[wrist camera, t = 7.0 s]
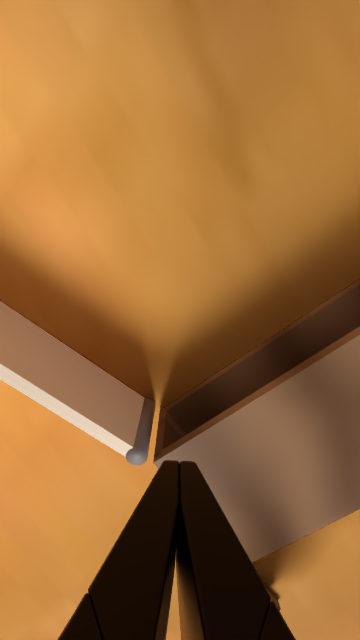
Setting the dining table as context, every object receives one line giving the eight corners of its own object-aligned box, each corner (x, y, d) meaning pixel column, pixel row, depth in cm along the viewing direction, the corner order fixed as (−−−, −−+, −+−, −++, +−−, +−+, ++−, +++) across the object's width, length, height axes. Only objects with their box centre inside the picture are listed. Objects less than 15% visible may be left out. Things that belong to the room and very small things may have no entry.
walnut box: (235, 495, 23) (249, 564, 18) (159, 410, 21) (153, 462, 16) (448, 376, 20) (534, 421, 15) (386, 261, 18) (464, 270, 13)
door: (158, 404, 21) (151, 455, 16) (142, 422, 21) (130, 477, 16) (-60, 257, 18) (-151, 264, 13) (-73, 282, 18) (-165, 298, 13)
